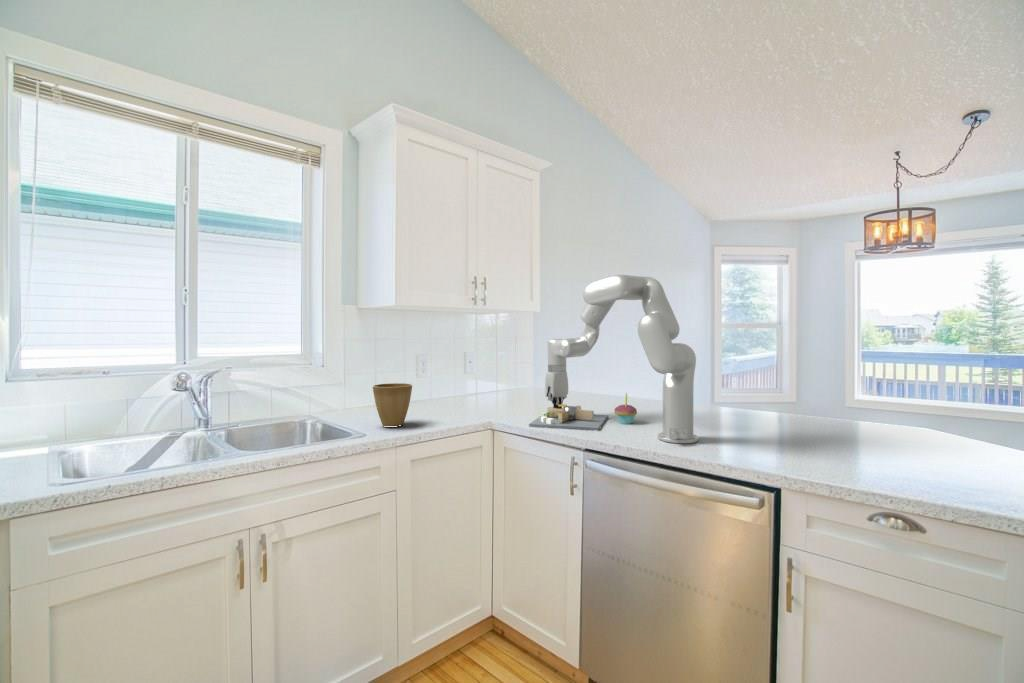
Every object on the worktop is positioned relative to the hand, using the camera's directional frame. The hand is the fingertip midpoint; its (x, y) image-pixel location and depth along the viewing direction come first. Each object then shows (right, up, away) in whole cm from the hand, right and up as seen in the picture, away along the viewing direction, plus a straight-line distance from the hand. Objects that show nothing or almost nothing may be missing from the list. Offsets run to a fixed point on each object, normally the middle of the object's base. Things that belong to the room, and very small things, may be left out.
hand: (557, 413), depth 191 cm
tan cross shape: (+4, -1, -6) cm, 8 cm away
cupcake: (+26, -2, -9) cm, 27 cm away
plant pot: (-65, -3, -10) cm, 65 cm away
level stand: (+4, -2, -6) cm, 8 cm away
